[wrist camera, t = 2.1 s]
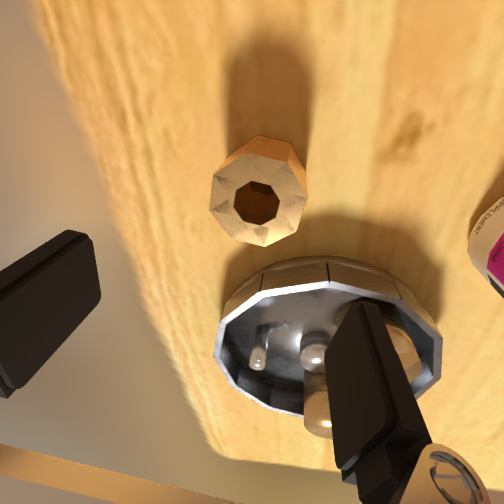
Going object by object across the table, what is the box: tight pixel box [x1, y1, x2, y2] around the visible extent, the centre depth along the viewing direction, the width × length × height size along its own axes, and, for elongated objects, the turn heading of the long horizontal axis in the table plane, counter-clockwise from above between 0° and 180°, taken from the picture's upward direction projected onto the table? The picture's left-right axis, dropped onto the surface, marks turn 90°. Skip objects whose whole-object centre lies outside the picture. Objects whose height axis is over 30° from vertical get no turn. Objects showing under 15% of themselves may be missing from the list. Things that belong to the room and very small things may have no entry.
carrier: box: [213, 256, 443, 439], centre depth 25 cm, size 20×20×6 cm
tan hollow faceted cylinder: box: [209, 135, 307, 247], centre depth 17 cm, size 5×5×5 cm
